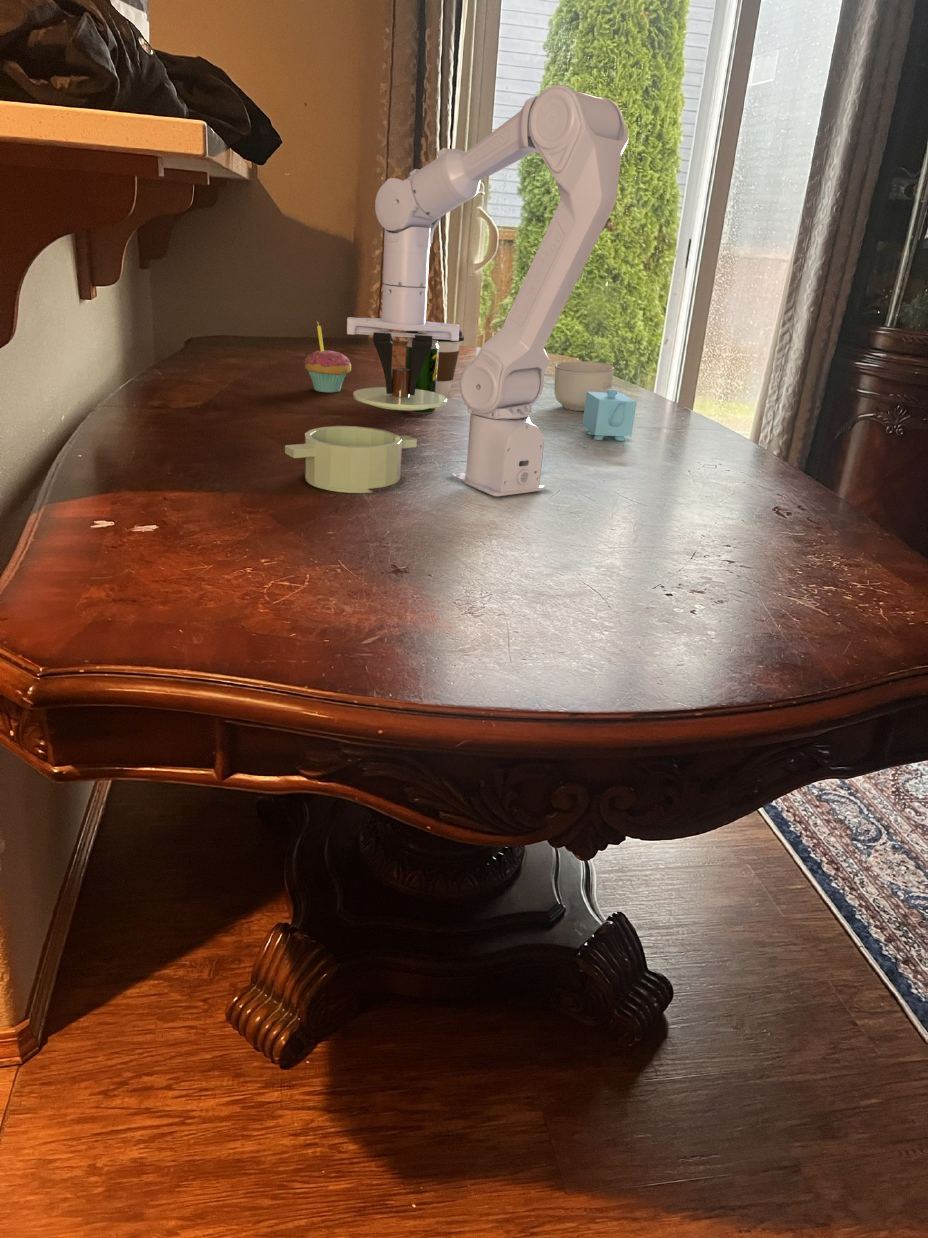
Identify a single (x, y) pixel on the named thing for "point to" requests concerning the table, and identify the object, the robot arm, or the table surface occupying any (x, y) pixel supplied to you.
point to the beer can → (425, 372)
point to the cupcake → (327, 368)
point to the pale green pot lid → (400, 395)
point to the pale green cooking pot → (351, 457)
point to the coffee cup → (446, 362)
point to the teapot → (609, 414)
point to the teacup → (580, 382)
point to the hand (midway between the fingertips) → (400, 393)
